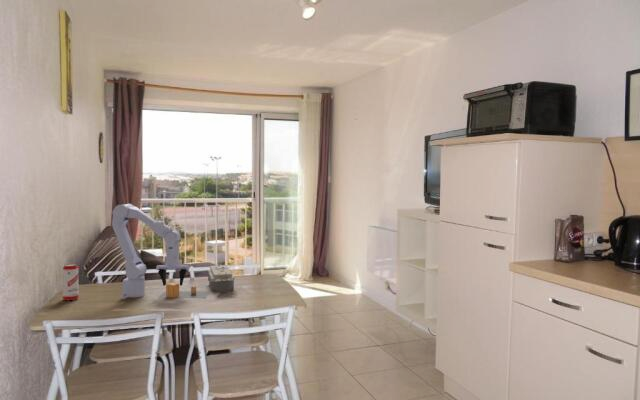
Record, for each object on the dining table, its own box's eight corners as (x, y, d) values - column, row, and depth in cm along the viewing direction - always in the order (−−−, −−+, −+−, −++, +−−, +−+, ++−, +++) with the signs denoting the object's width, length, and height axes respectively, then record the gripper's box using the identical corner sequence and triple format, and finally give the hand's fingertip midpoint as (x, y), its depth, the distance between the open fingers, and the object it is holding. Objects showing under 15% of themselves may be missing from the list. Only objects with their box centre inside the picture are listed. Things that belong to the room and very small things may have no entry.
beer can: (81, 298, 205) (81, 264, 205) (69, 302, 200) (68, 266, 199) (72, 297, 208) (72, 263, 207) (59, 300, 202) (59, 265, 202)
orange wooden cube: (164, 297, 206) (164, 285, 206) (168, 294, 212) (168, 282, 212) (177, 297, 207) (177, 285, 206) (180, 294, 212) (180, 282, 212)
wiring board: (157, 300, 205) (157, 289, 205) (164, 293, 217) (164, 283, 217) (205, 300, 206) (205, 289, 206) (210, 293, 218) (210, 283, 218)
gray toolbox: (228, 280, 245) (228, 262, 244) (236, 296, 218) (236, 276, 217) (206, 281, 241) (206, 263, 240) (211, 298, 214) (212, 278, 213)
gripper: (154, 257, 204) (154, 287, 205) (186, 257, 205) (186, 287, 205) (158, 255, 211) (159, 283, 212) (190, 255, 212) (190, 283, 212)
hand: (172, 285), depth 209 cm, fingers open, 7 cm apart
